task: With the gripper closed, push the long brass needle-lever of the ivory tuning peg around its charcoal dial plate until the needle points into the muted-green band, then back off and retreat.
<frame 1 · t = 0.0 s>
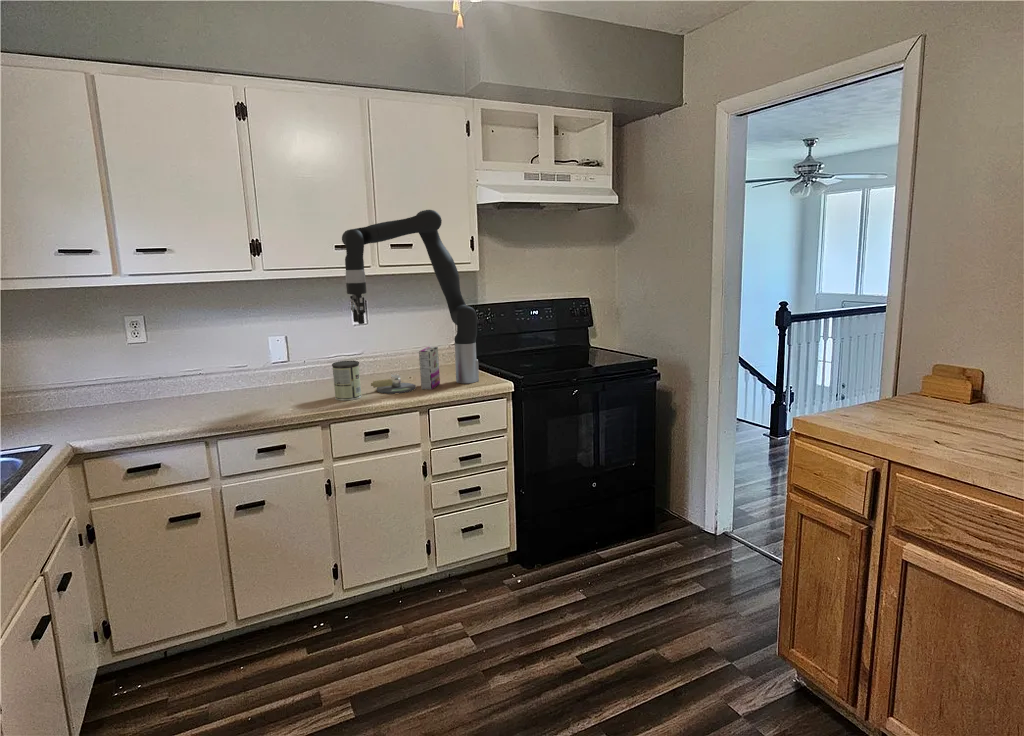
hand: (358, 322, 233), 29 cm above the countertop, fingers open, 8 cm apart
coffee can: (348, 398, 235), on the countertop
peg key: (385, 381, 245), point 4 cm above the countertop, hinge at 0.0°
dial plate: (396, 389, 247), on the countertop
candy bar box: (430, 387, 251), on the countertop
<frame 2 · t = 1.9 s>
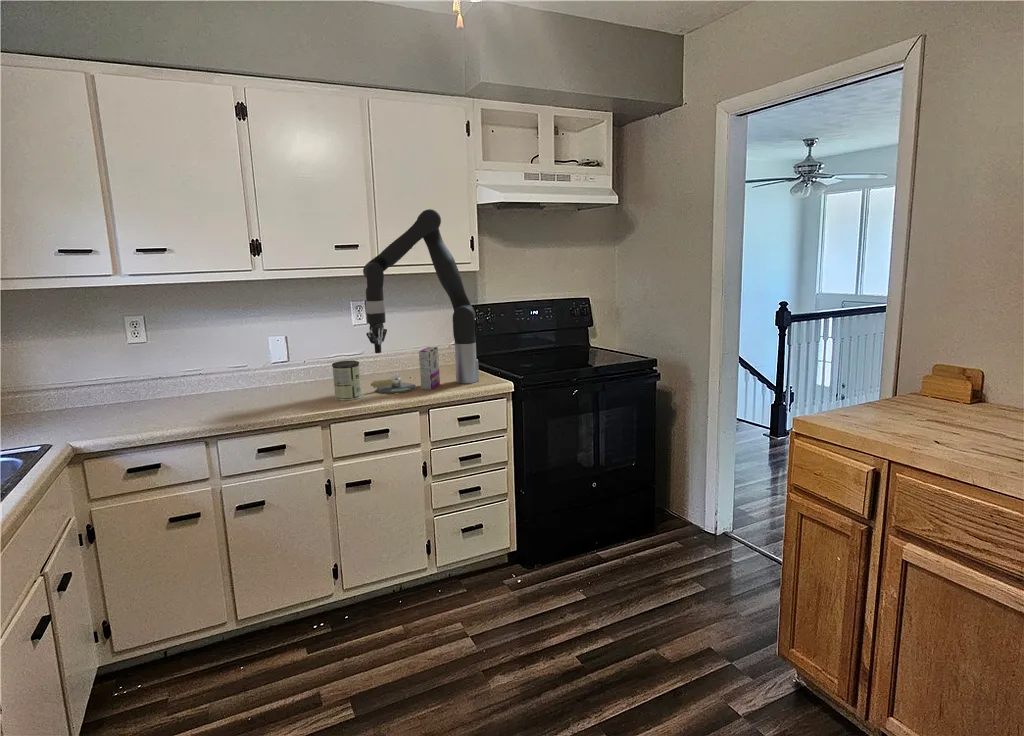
hand: (378, 353, 247), 15 cm above the countertop, fingers closed
nothing on the countertop moved.
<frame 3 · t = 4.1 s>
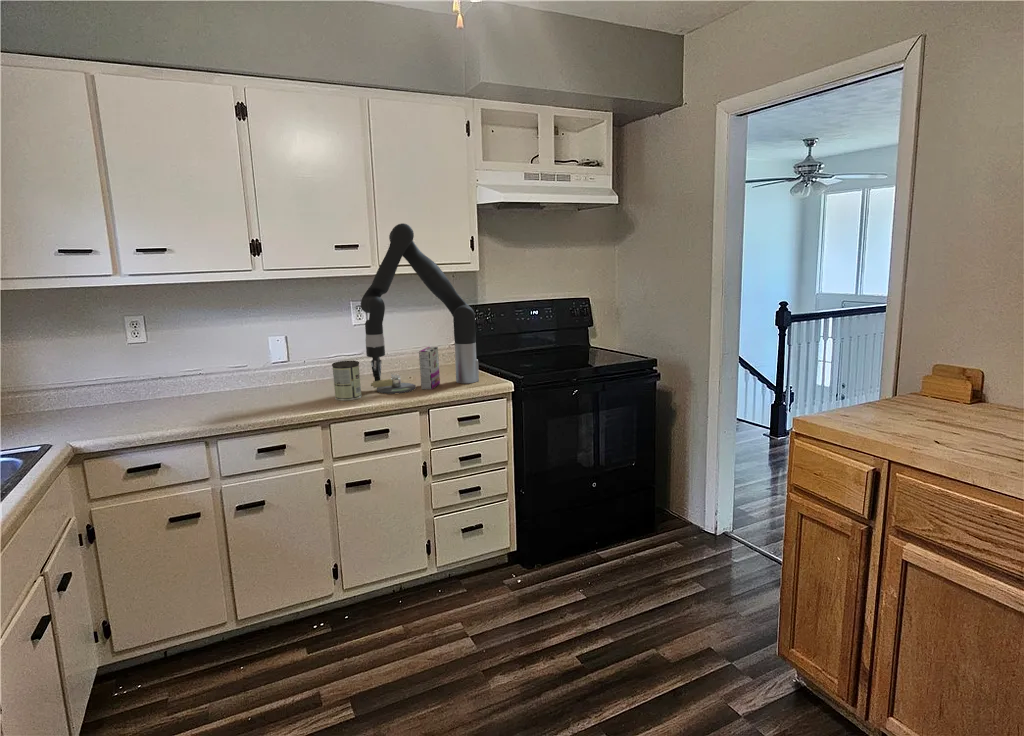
hand: (377, 385, 246), 2 cm above the countertop, fingers closed
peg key: (385, 381, 244), point 4 cm above the countertop, hinge at 1.3°, touching gripper
everything else where it was.
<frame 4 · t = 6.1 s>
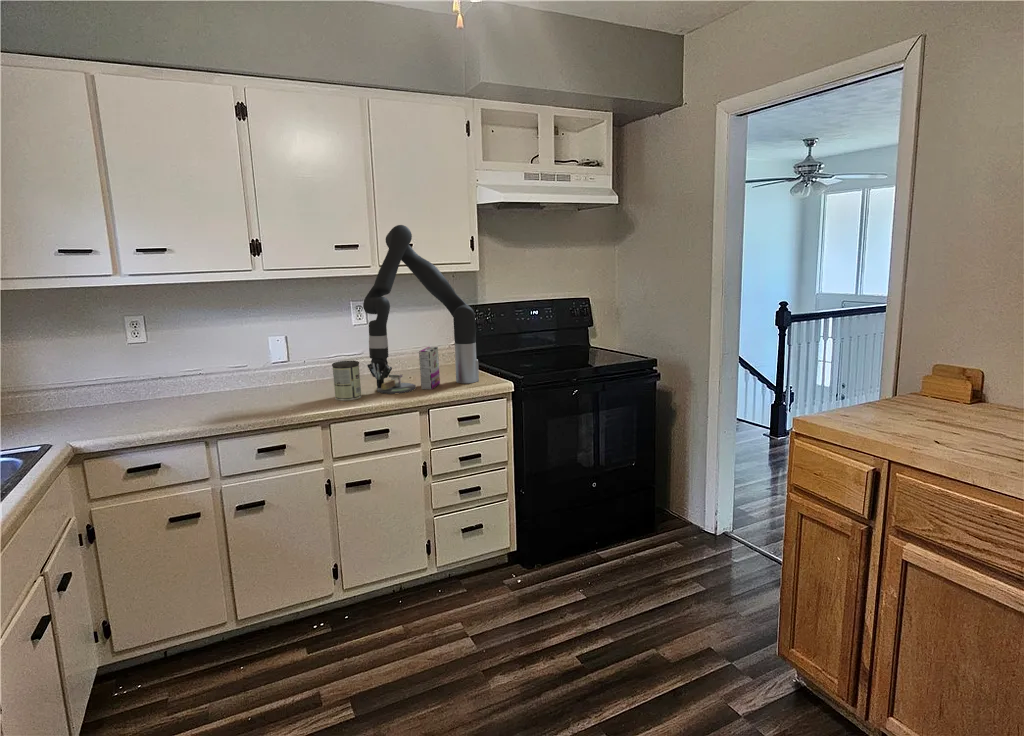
hand: (380, 387, 241), 2 cm above the countertop, fingers closed
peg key: (390, 382, 243), point 4 cm above the countertop, hinge at 42.5°, touching gripper
everything else where it was.
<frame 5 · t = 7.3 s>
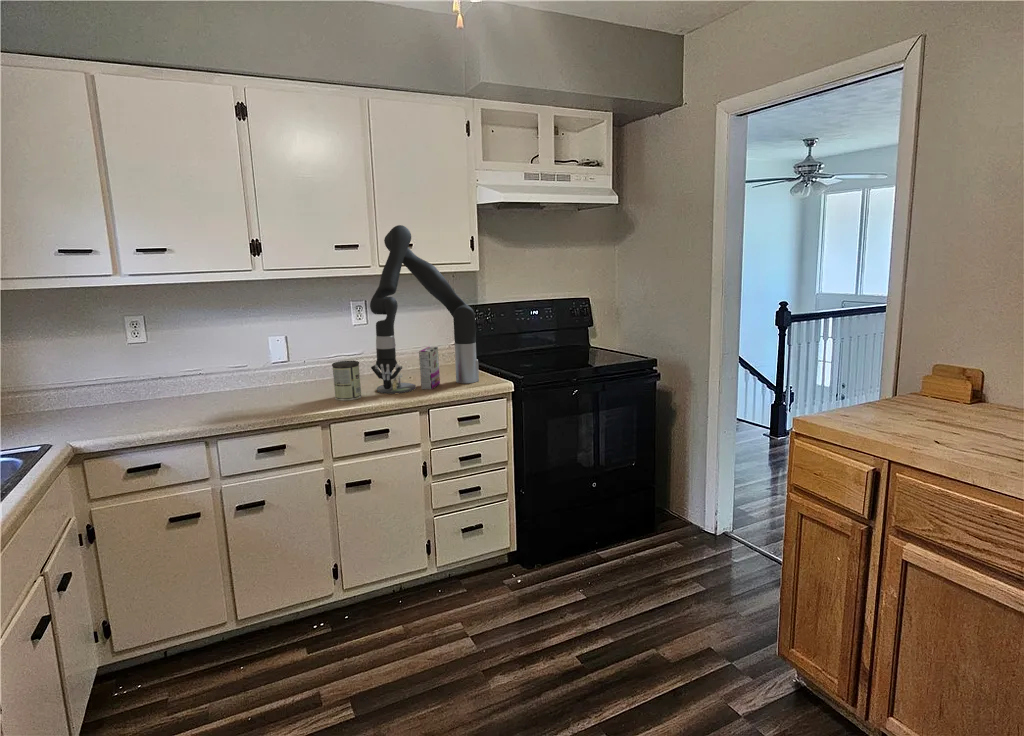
hand: (387, 388, 239), 2 cm above the countertop, fingers closed
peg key: (395, 382, 242), point 4 cm above the countertop, hinge at 70.6°, touching gripper
everything else where it was.
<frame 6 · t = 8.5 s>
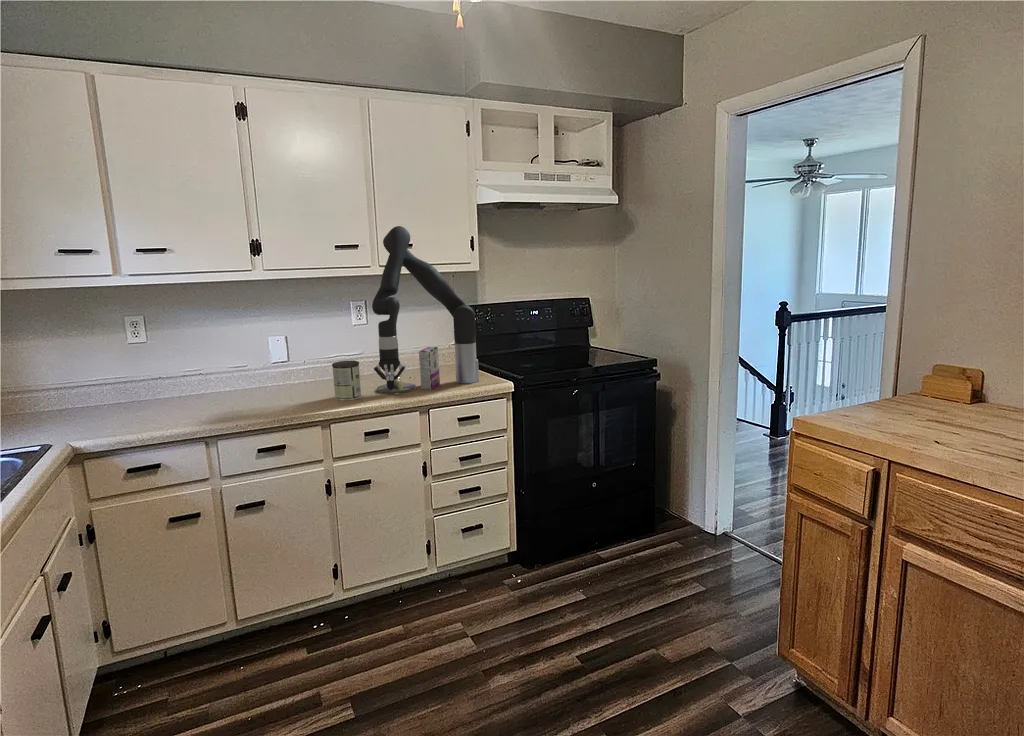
hand: (391, 389, 239), 2 cm above the countertop, fingers closed
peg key: (398, 382, 243), point 4 cm above the countertop, hinge at 86.5°
everything else where it was.
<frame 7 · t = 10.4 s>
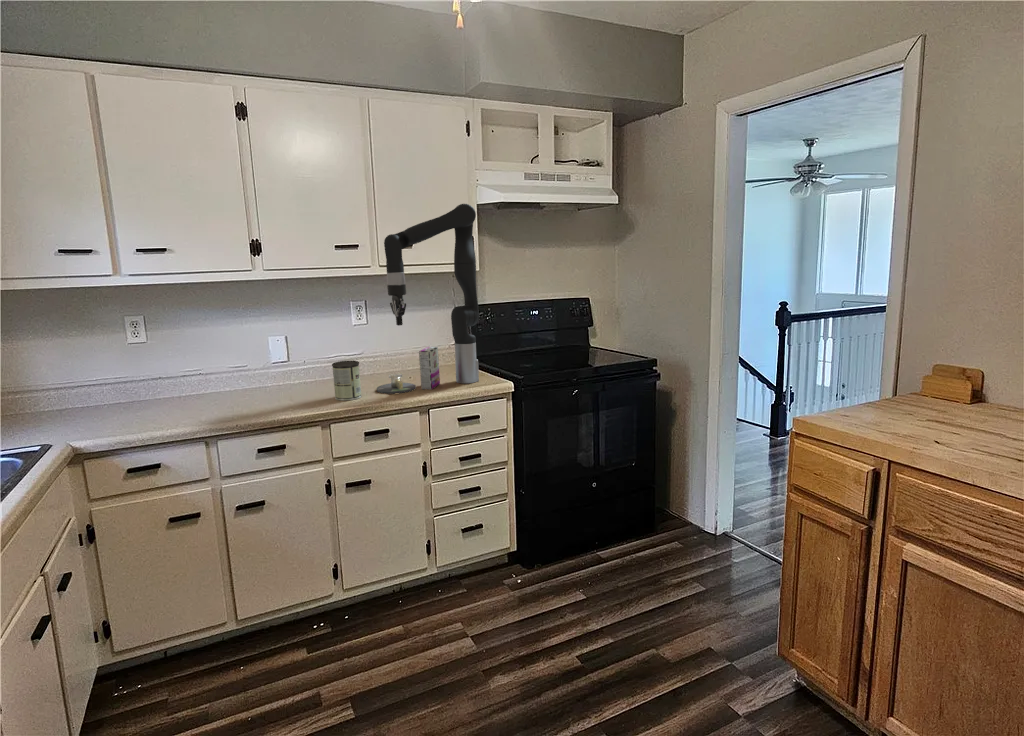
hand: (399, 325, 248), 26 cm above the countertop, fingers closed
nothing on the countertop moved.
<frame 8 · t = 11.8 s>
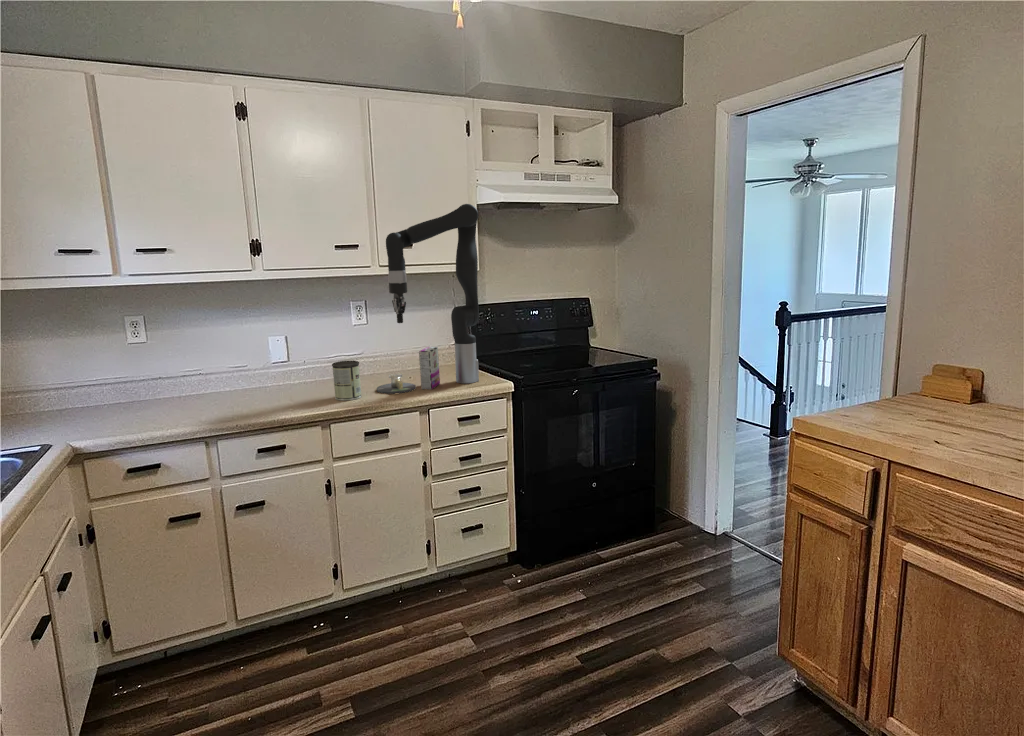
hand: (400, 322, 249), 27 cm above the countertop, fingers closed
nothing on the countertop moved.
at the end: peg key at +87° (first picture: +0°); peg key touching nothing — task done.
